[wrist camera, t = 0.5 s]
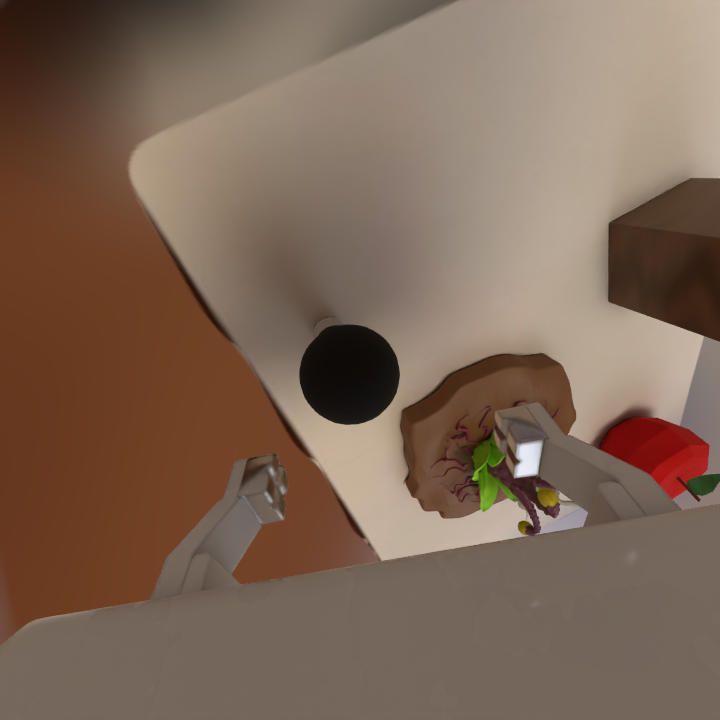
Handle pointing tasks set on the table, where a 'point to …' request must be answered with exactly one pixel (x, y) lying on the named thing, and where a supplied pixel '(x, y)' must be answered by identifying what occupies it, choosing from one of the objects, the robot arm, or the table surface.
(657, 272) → the walnut block
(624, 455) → the apple
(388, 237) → the table surface
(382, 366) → the light bulb
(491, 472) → the plant
